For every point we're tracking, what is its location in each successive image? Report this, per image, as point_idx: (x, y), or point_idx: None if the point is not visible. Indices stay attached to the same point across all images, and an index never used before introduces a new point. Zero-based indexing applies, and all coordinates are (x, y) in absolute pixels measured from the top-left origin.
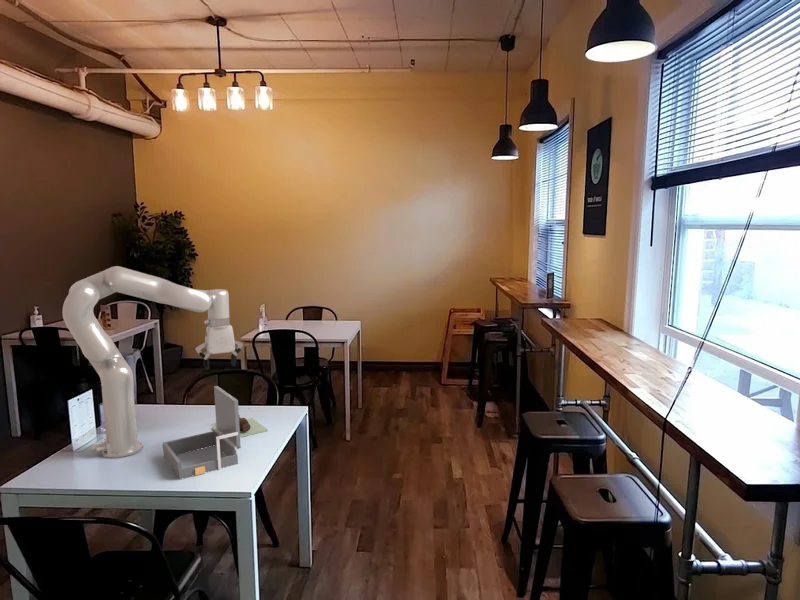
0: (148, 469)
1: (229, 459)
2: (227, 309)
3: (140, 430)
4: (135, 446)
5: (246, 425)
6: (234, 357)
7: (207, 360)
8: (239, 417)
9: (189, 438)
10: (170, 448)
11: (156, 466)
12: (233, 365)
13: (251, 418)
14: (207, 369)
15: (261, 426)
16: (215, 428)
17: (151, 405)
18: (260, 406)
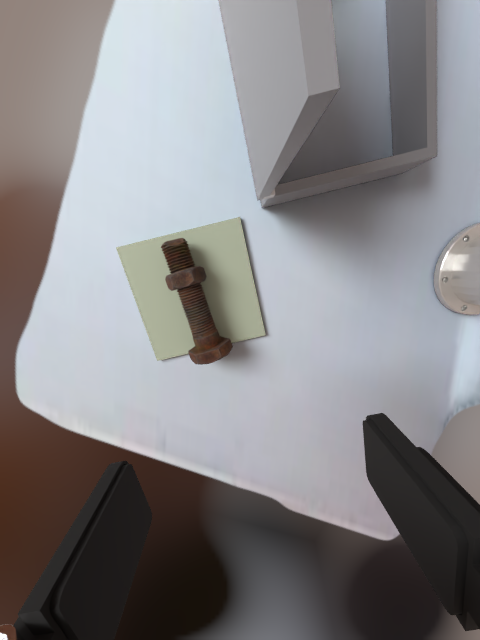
0: (450, 92)
1: None
2: None
3: (417, 390)
4: (464, 252)
5: (172, 240)
6: (46, 583)
7: (475, 516)
8: (189, 310)
9: (355, 166)
10: (427, 76)
11: None
12: (125, 469)
13: (159, 358)
14: (383, 415)
15: (134, 281)
16: (273, 193)
17: (372, 532)
18: (133, 446)
